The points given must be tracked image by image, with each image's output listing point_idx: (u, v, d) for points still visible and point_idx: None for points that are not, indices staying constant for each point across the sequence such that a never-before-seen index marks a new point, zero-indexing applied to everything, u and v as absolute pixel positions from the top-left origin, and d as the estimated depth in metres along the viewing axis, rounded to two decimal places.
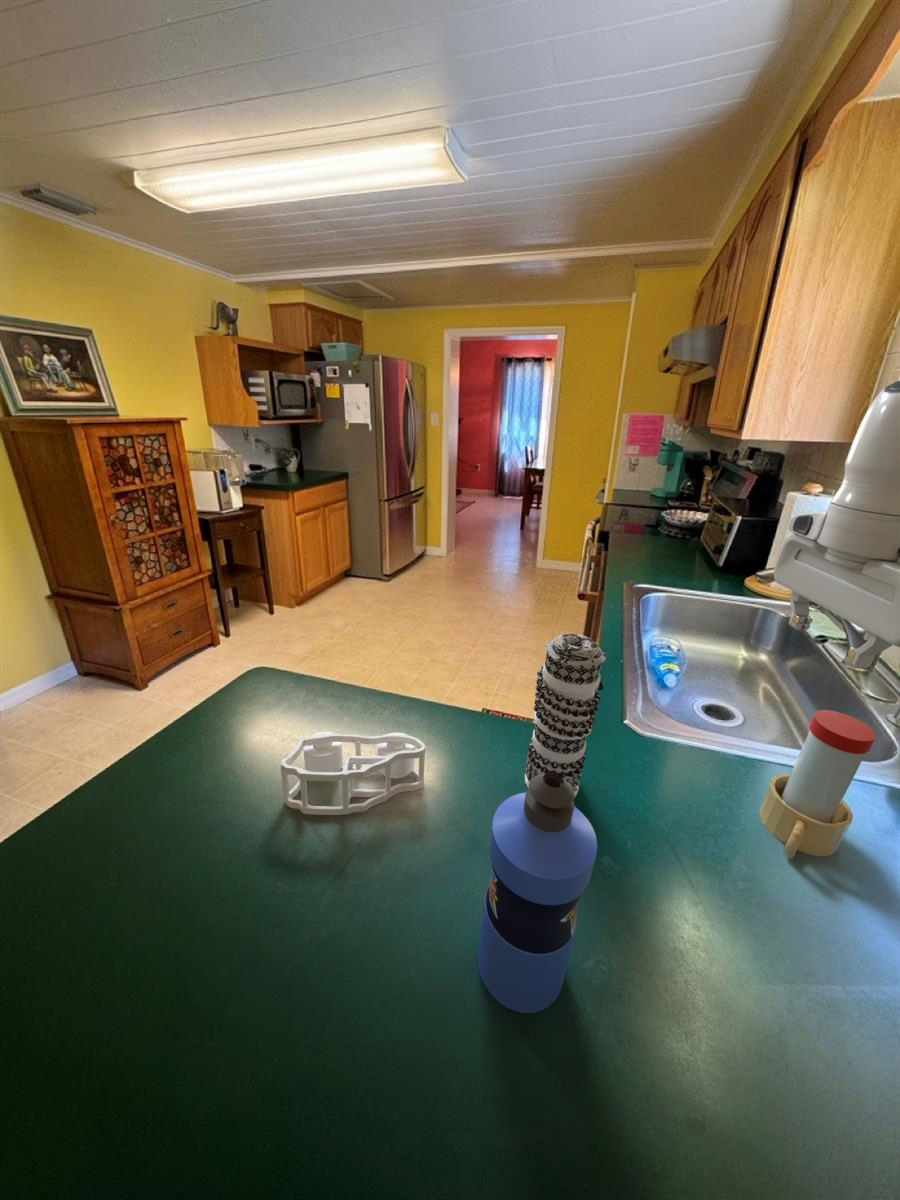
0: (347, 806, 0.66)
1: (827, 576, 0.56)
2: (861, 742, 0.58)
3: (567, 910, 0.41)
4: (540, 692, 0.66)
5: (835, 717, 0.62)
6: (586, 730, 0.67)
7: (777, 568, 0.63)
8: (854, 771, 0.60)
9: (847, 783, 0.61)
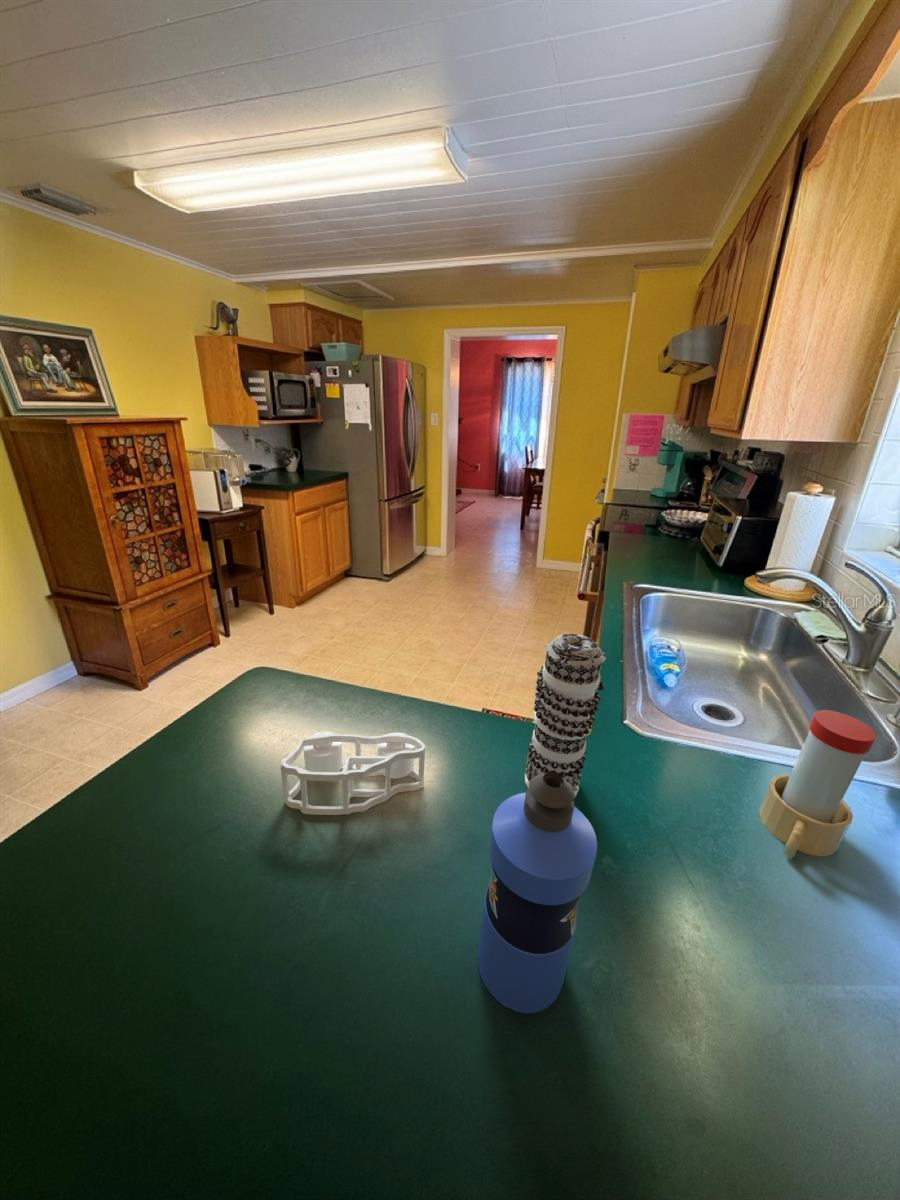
0: (347, 806, 0.66)
1: None
2: (861, 742, 0.58)
3: (567, 910, 0.41)
4: (540, 692, 0.66)
5: (835, 717, 0.62)
6: (586, 730, 0.67)
7: None
8: (854, 771, 0.60)
9: (847, 783, 0.61)
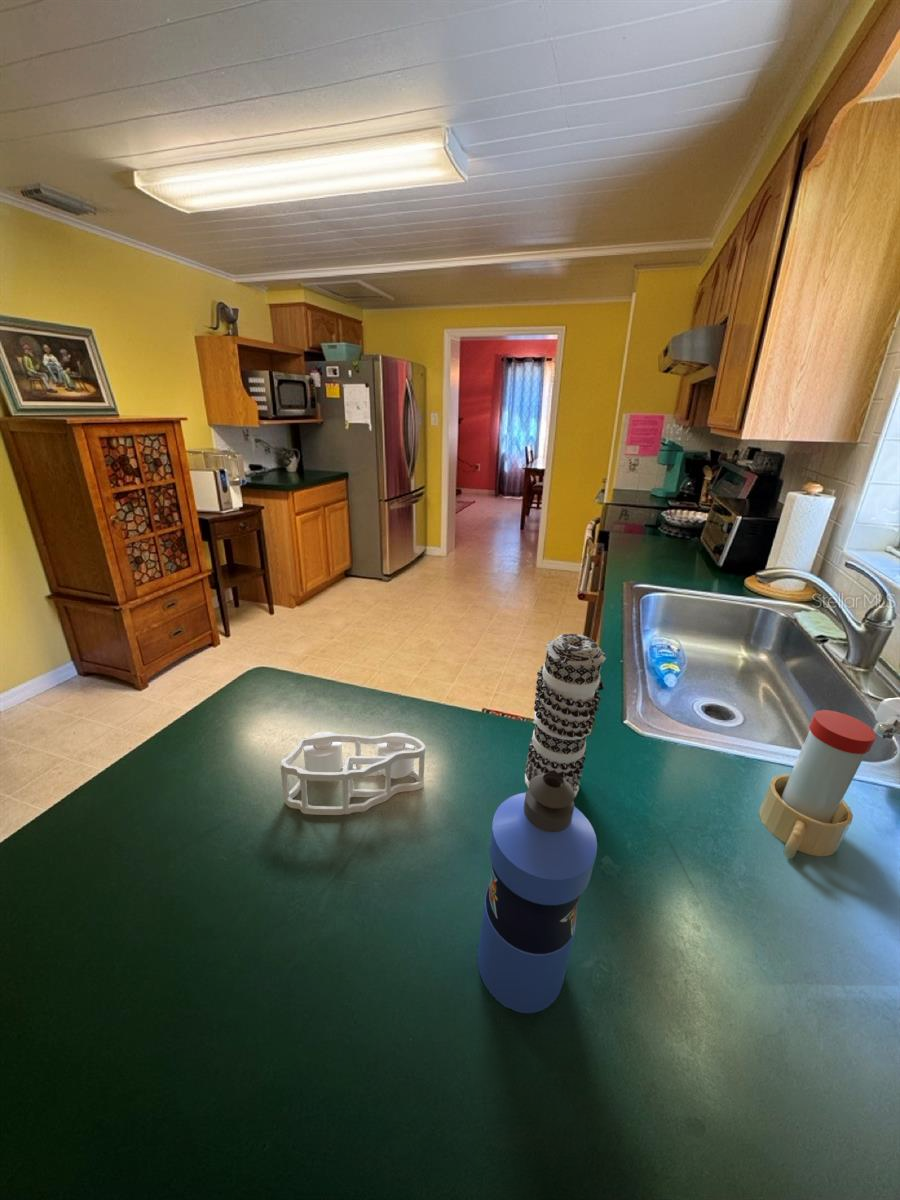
0: (347, 806, 0.66)
1: None
2: (861, 742, 0.58)
3: (567, 910, 0.41)
4: (540, 692, 0.66)
5: (835, 717, 0.62)
6: (586, 730, 0.67)
7: (895, 700, 0.72)
8: (854, 771, 0.60)
9: (847, 783, 0.61)
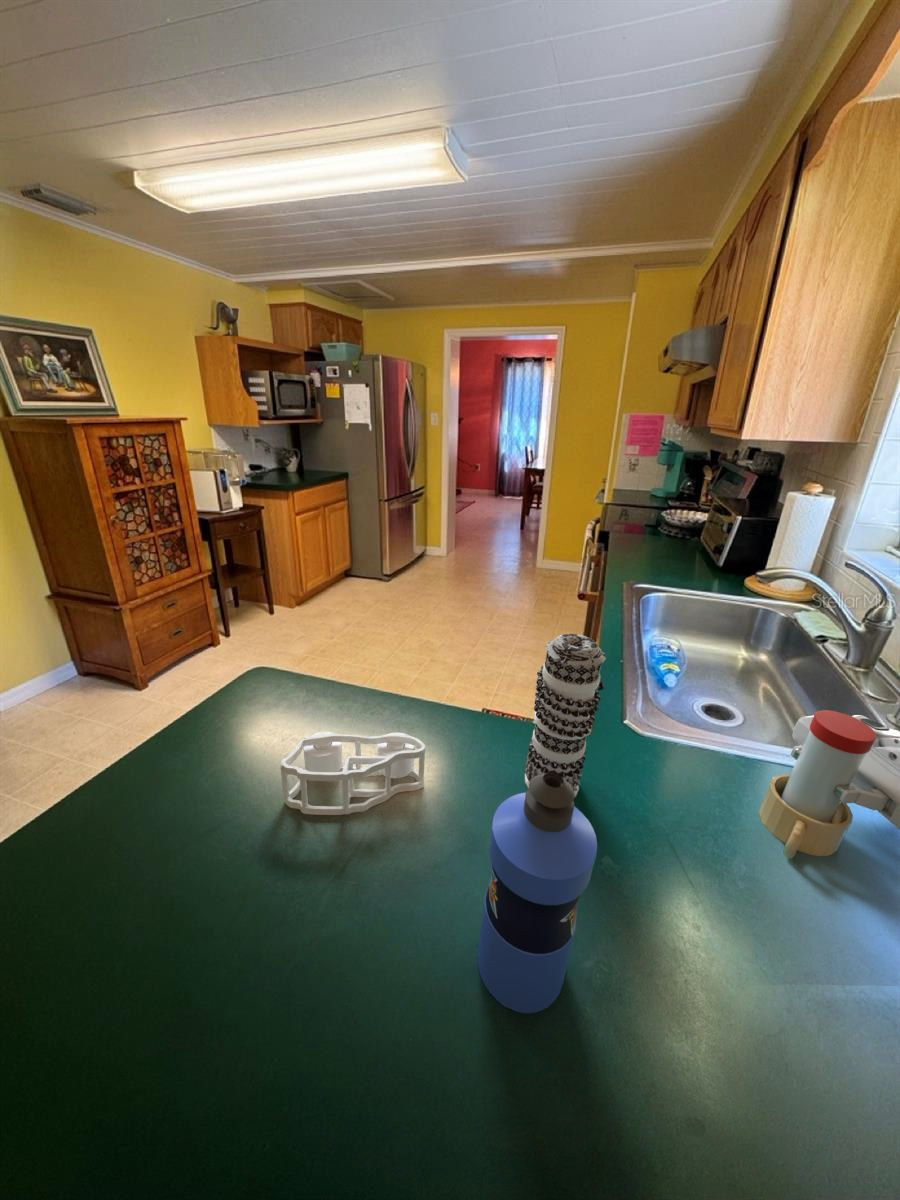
0: (347, 806, 0.66)
1: (867, 754, 0.65)
2: (861, 742, 0.58)
3: (567, 910, 0.41)
4: (540, 692, 0.66)
5: (836, 717, 0.62)
6: (586, 730, 0.67)
7: (812, 718, 0.72)
8: (854, 771, 0.60)
9: (848, 783, 0.61)
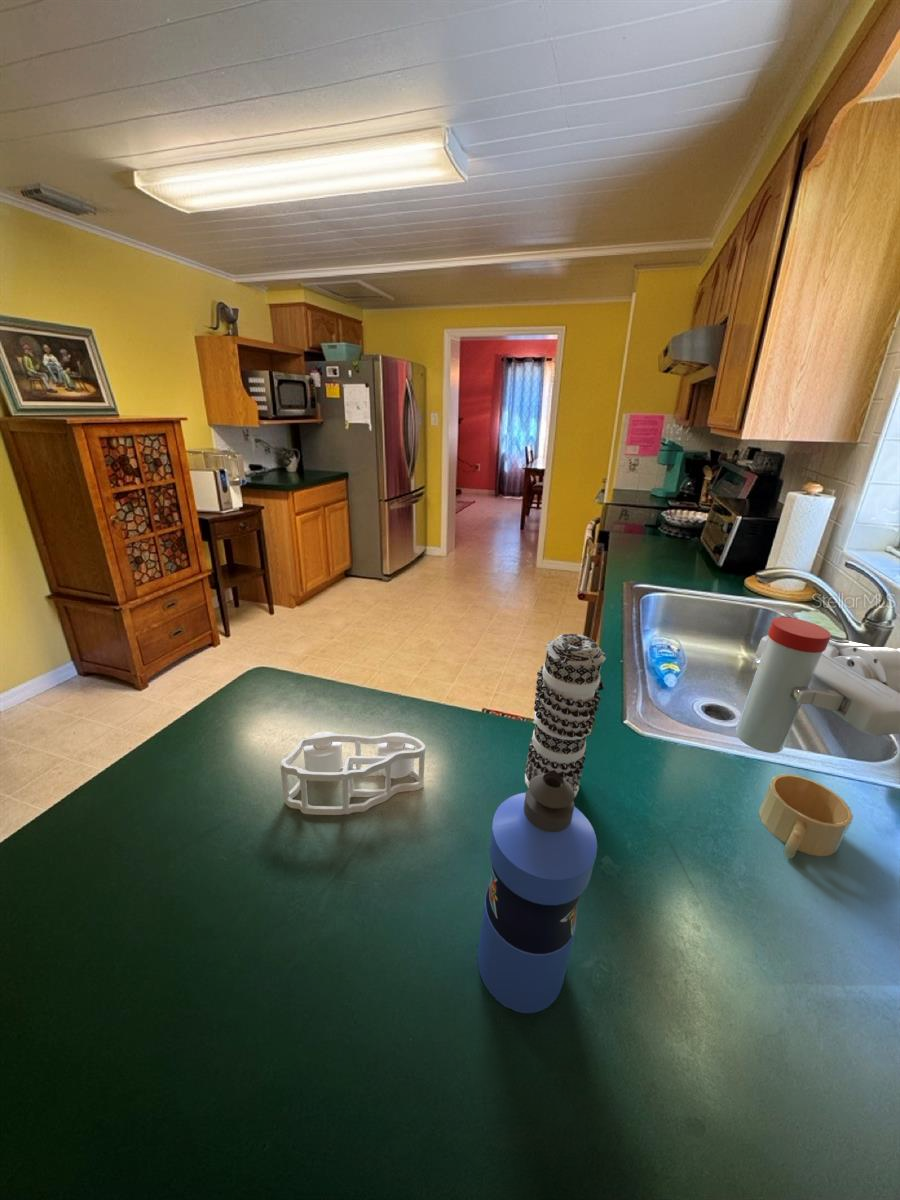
0: (347, 806, 0.66)
1: (826, 663, 0.66)
2: (816, 640, 0.58)
3: (567, 910, 0.41)
4: (540, 692, 0.66)
5: (793, 622, 0.63)
6: (586, 730, 0.67)
7: None
8: (810, 672, 0.61)
9: (804, 685, 0.61)
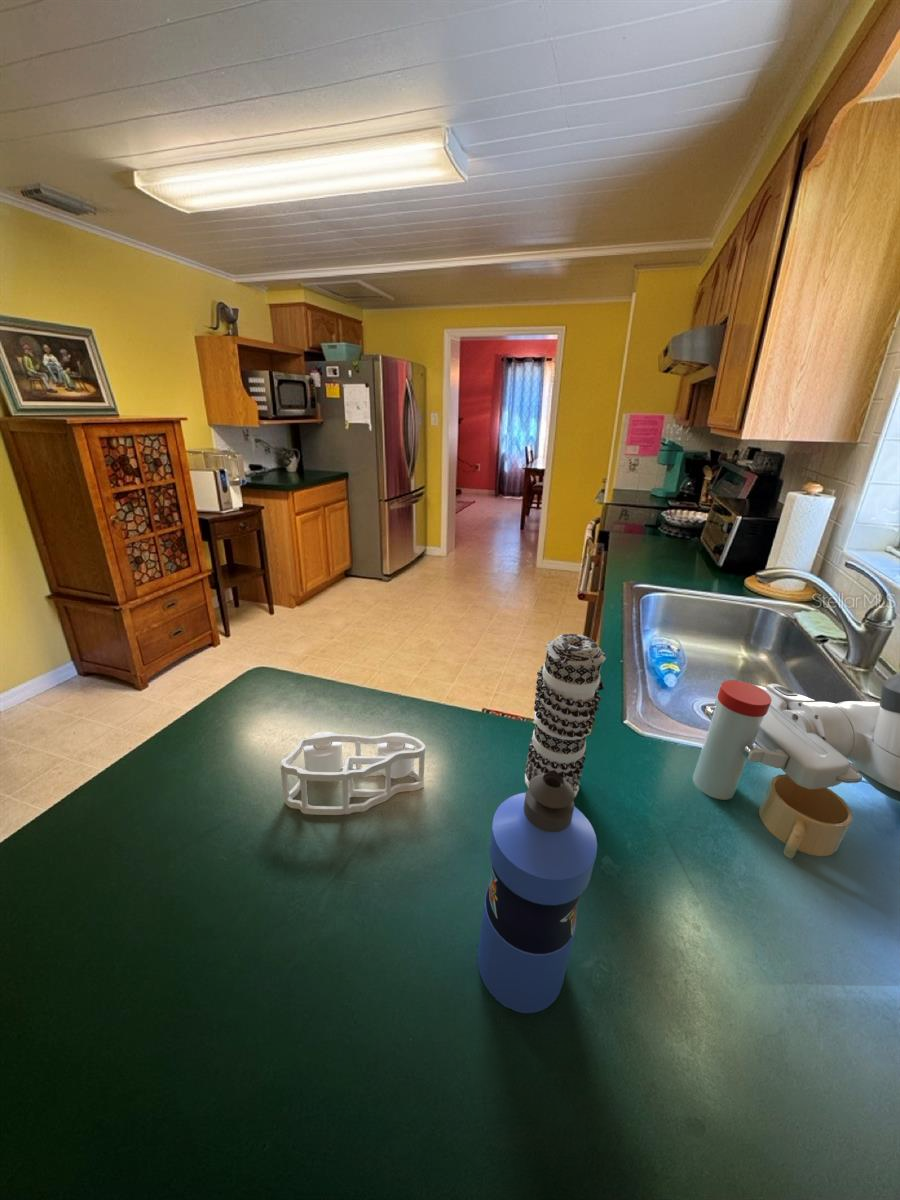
0: (347, 806, 0.66)
1: (774, 716, 0.72)
2: (756, 706, 0.65)
3: (567, 910, 0.41)
4: (540, 692, 0.66)
5: (740, 686, 0.69)
6: (586, 730, 0.67)
7: None
8: (754, 733, 0.67)
9: (749, 744, 0.68)
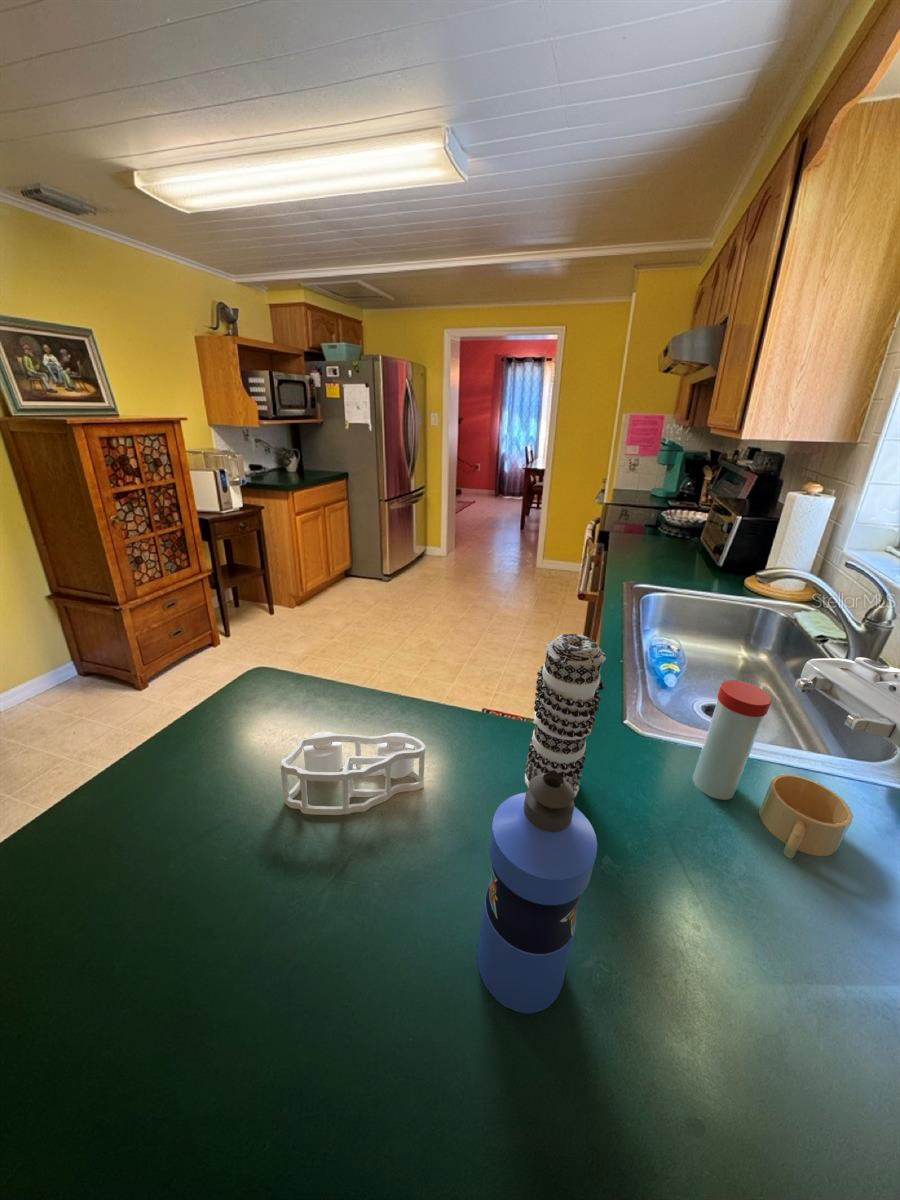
0: (347, 806, 0.66)
1: (869, 687, 0.72)
2: (756, 706, 0.65)
3: (567, 910, 0.41)
4: (540, 692, 0.66)
5: (740, 686, 0.69)
6: (586, 730, 0.67)
7: (818, 660, 0.79)
8: (754, 733, 0.67)
9: (749, 744, 0.68)
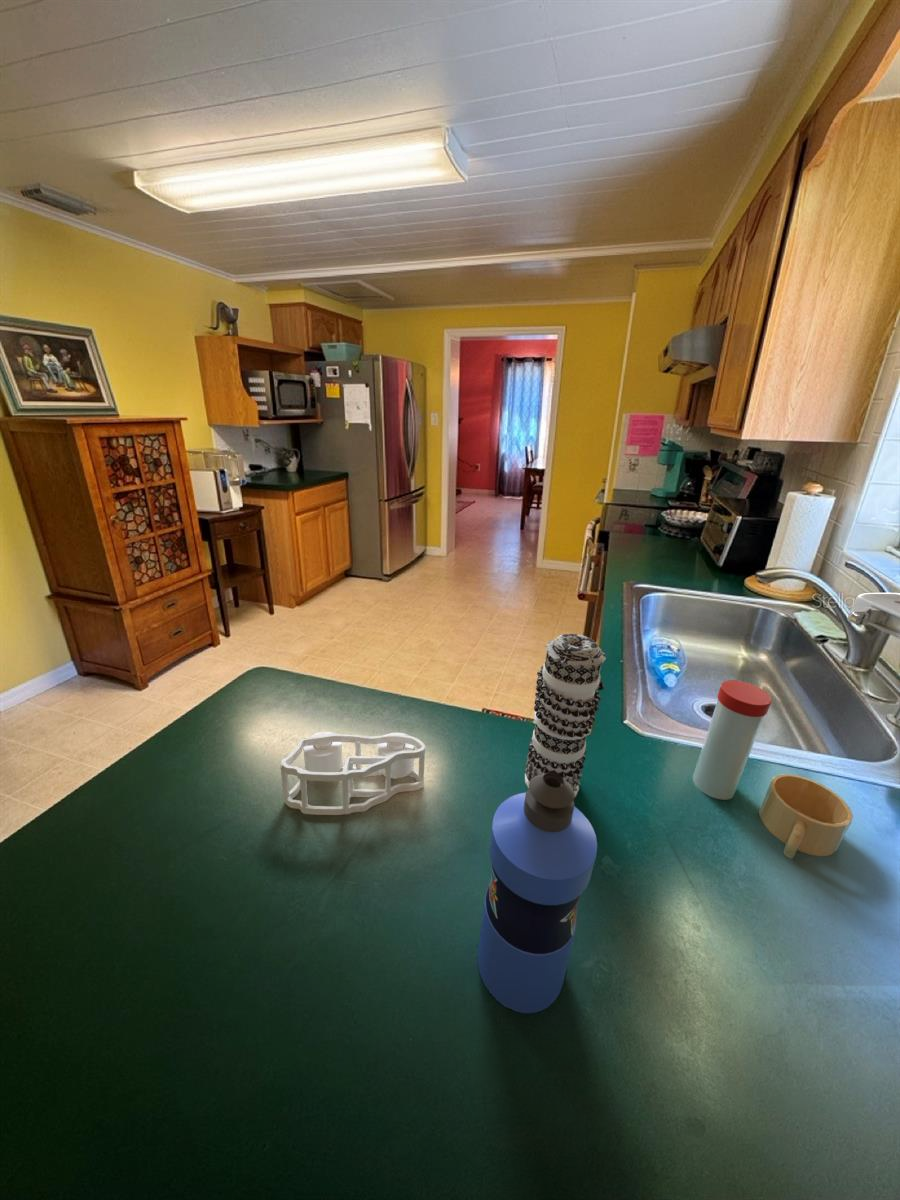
0: (347, 806, 0.66)
1: None
2: (756, 706, 0.65)
3: (567, 910, 0.41)
4: (540, 692, 0.66)
5: (740, 686, 0.69)
6: (586, 730, 0.67)
7: (870, 594, 0.74)
8: (754, 733, 0.67)
9: (749, 744, 0.68)
